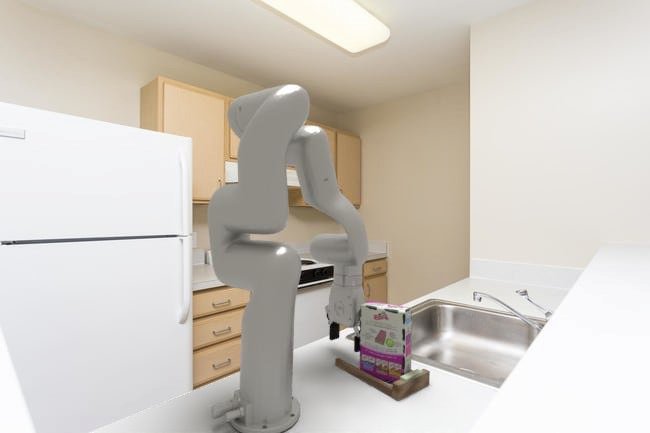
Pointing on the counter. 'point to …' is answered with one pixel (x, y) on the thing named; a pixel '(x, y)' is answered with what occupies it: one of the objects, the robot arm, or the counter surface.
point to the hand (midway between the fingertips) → (346, 344)
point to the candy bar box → (385, 340)
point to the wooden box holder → (398, 389)
